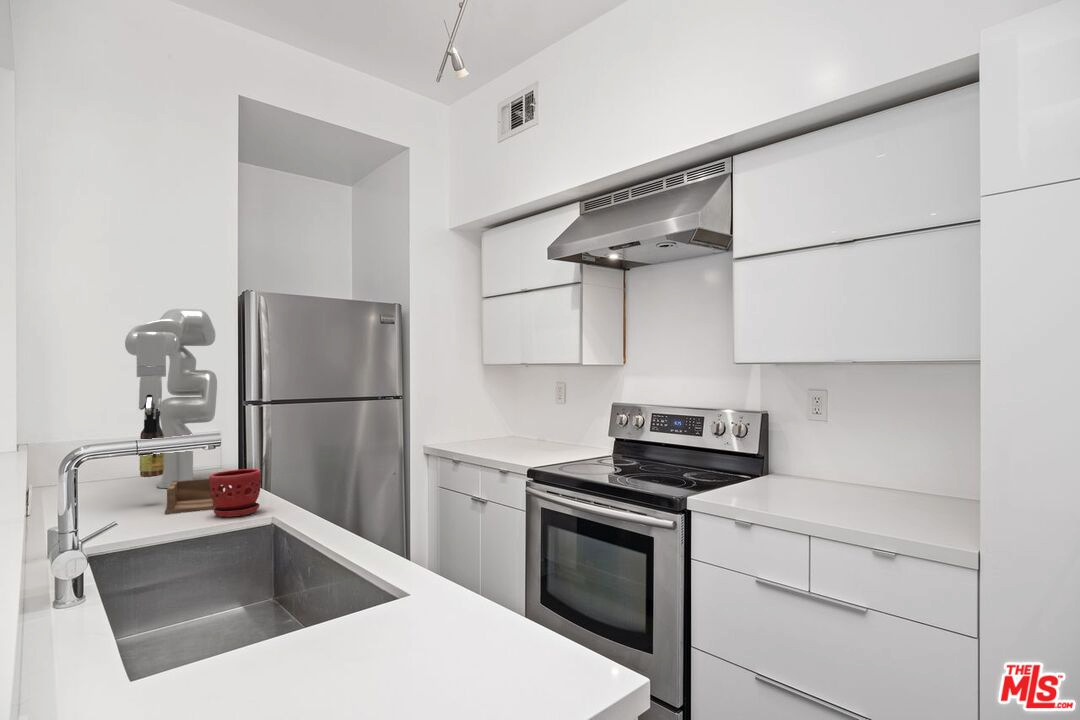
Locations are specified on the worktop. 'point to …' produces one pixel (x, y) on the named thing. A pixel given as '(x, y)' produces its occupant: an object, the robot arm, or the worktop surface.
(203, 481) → the u rest
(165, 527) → the worktop surface
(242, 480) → the plant pot
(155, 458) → the sauce bottle
